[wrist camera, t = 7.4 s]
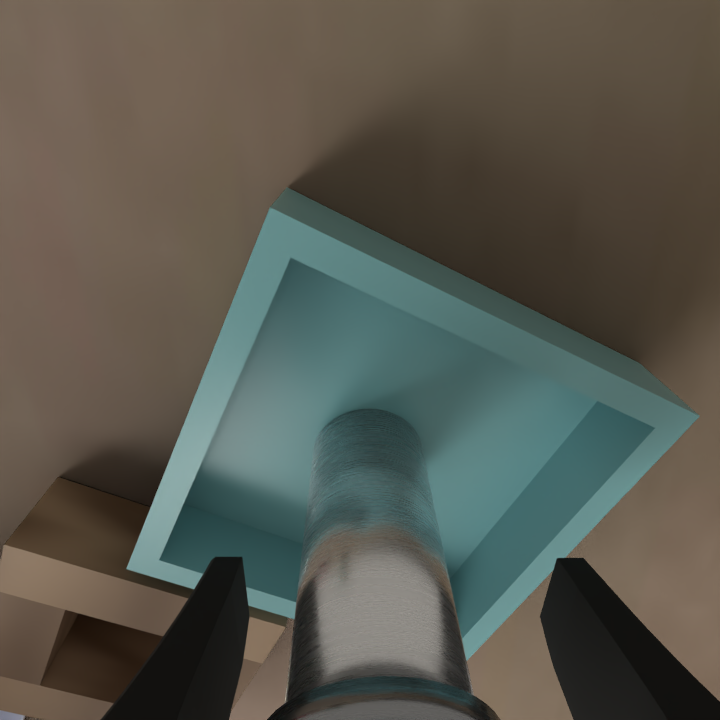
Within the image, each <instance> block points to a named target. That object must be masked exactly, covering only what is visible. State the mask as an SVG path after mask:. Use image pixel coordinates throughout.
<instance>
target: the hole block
mask: <svg viewBox="0 0 720 720" xmlns="http://www.w3.org/2000/svg"><path fill="white" fill-rule="evenodd" d="M150 508H151V507H148V506H145V505H142V504H139V503H136V502H132V501H129V500H126V499H123V498H120V497H117V496H114V495H111V494H108V493H105V492H102V491H99V490H96V489H93V488H90V487H87V486H84V485H81V484H78V483H75V482H72V481H69V480H66V479H63V478H59V477H58V478H57V479H56V480H55V482H54V483H53V484H52V485H51V487H50V488H49V489H48V490H47V492H46V493H45V494H44V495H43V497H42V498H41V499H40V500H39V502H38V503H37V504H36V505H35V507H34V508H33V509H32V510H31V512H30V513H29V514H28V515H27V517H26V518H25V519H24V520H23V522H22V523H21V524H20V525H19V527H18V528H17V529H16V530H15V532H14V533H13V534H12V535H11V537H10V538H9V539H8V540H7V542H6V543H5V544H4V547H3V552H2V556H1V560H0V710H2V711H6V712H11V713H15V714H19V715H24V716H28V717H33V718H37V719H42V720H101V718H102V717H103V716H104V715H105V714H106V712H107V711H108V710H109V709H110V707H111V706H112V705H113V704H114V702H115V701H116V700H117V699H118V697H119V696H120V695H121V693H122V692H123V691H124V689H125V688H126V687H127V685H128V684H129V683H130V681H131V680H132V679H133V677H134V676H135V675H136V673H137V672H138V671H139V669H140V668H141V667H142V665H143V664H144V663H145V661H146V660H147V659H148V657H149V656H150V655H151V653H152V652H153V650H154V649H155V648H156V646H157V645H158V643H159V642H160V640H161V639H162V637H163V636H164V634H165V633H166V632H167V630H168V629H169V627H170V626H171V624H172V623H173V621H174V620H175V618H176V617H177V615H178V614H179V612H180V611H181V609H182V608H183V606H184V604H185V603H186V601H187V600H188V598H189V597H190V595H191V593H192V592H193V590H194V589H191V588H188V587H185V586H181V585H178V584H175V583H171V582H168V581H165V580H161V579H158V578H154V577H151V576H148V575H144V574H141V573H138V572H134V571H131V570H128V569H126V568H127V566H128V563H129V561H130V558H131V556H132V553H133V551H134V548H135V546H136V543H137V541H138V538H139V536H140V533H141V531H142V528H143V525H144V523H145V520H146V518H147V515H148V513H149V510H150ZM249 615H250V617H249V624H248V631H247V638H246V645H245V651H244V658H243V664H242V669H241V673H240V677H239V681H238V685H237V689H236V693H235V697H234V701H233V705H232V709H233V708H234V706H235V705H236V703H237V701H238V700H239V698H240V697H241V695H242V694H243V692H244V691H245V689H246V688H247V686H248V685H249V683H250V682H251V680H252V679H253V677H254V676H255V674H256V672H257V671H258V669H259V668H260V666H261V665H262V663H263V662H264V660H265V659H266V657H267V656H268V654H269V653H270V651H271V650H272V648H273V646H274V645H275V643H276V642H277V640H278V639H279V637H280V636H281V634H282V633H283V631H284V630H285V628H286V624H287V617H285V616H282V615H278V614H275V613H272V612H268V611H265V610H262V609H258V608H255V607H252V606H249ZM232 709H231V711H232Z"/></svg>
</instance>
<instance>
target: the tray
mask: <svg viewBox="0 0 720 720" xmlns="http://www.w3.org/2000/svg"><path fill="white" fill-rule="evenodd" d="M358 409H380V410H384V411H388V412H391V413H394V414H396V415H398V416H400V417H401V418H403V419H404V420H406V421H407V422H408V423H409V424H410V425H411V426H412V427H413V428H414V429H415V431H416V432H417V434H418V436H419V438H420V441H421V445H422V449H423V454H424V459H425V464H426V469H427V473H428V478H429V483H430V488H431V493H432V497H433V502H434V507H435V512H436V517H437V521H438V526H439V531H440V536H441V541H442V545H443V550H444V555H445V560H446V565H447V569H448V574H449V579H450V584H451V589H452V593H453V598H454V603H455V608H456V613H457V617H458V622H459V627H460V632H461V637H462V641H463V646H464V651H465V656H466V661H467V660H468V659H469V658H470V657H471V656H472V655H473V654H474V653H475V652H476V650H477V649H478V648H479V647H480V646H481V645H482V644H483V643H484V642H485V641H486V640H487V639H488V638H489V637H490V636H491V635H492V634H493V633H494V632H495V631H496V629H497V628H498V627H499V626H500V625H501V624H502V623H503V622H504V621H505V620H506V619H507V618H508V617H509V616H510V615H511V614H512V613H513V612H514V611H515V610H516V609H517V607H518V606H519V605H520V604H521V603H522V602H523V601H524V600H525V599H526V598H527V597H528V596H529V595H530V594H531V593H532V592H533V591H534V590H535V589H536V588H537V586H538V585H539V584H540V583H541V582H542V581H543V580H544V579H545V578H546V577H547V576H548V575H549V574H550V573H551V572H552V571H553V570H554V566H555V563H556V559H557V558H565V557H566V556H567V555H568V554H569V553H570V552H571V551H572V550H573V549H574V548H575V547H576V546H577V545H578V543H579V542H580V541H581V540H582V539H583V538H584V537H585V536H586V535H587V534H588V533H589V532H590V531H591V530H592V529H593V528H594V527H595V526H596V525H597V524H598V522H599V521H600V520H601V519H602V518H603V517H604V516H605V515H606V514H607V513H608V512H609V511H610V510H611V509H612V508H613V507H614V506H615V505H616V504H617V503H618V501H619V500H620V499H621V498H622V497H623V496H624V495H625V494H626V493H627V492H628V491H629V490H630V489H631V488H632V487H633V486H634V485H635V484H636V483H637V482H638V480H639V479H640V478H641V477H642V476H643V475H644V474H645V473H646V472H647V471H648V470H649V469H650V468H651V467H652V466H653V465H654V464H655V463H656V462H657V461H658V460H659V458H660V457H661V456H662V455H663V454H664V453H665V452H666V451H667V450H668V449H669V448H670V447H671V446H672V445H673V444H674V443H675V442H676V441H677V440H678V439H679V437H680V436H681V435H682V434H683V433H684V432H685V431H686V430H687V429H688V428H689V427H690V426H691V425H692V424H693V423H694V422H695V421H696V420H697V419H698V418H699V415H698V414H697V413H696V412H695V411H693V410H692V409H691V408H690V407H689V406H688V405H687V404H685V403H684V402H683V401H682V400H681V399H680V398H679V397H678V396H676V395H675V394H674V393H673V392H672V391H671V390H670V389H668V388H667V387H666V386H665V385H664V384H663V383H662V382H660V381H659V380H658V379H657V378H656V377H655V376H654V375H653V374H651V373H650V372H649V371H648V370H647V369H646V368H645V367H643V366H642V365H641V364H640V363H638V362H636V361H634V360H632V359H630V358H628V357H626V356H624V355H622V354H620V353H618V352H616V351H614V350H612V349H610V348H608V347H606V346H604V345H602V344H600V343H598V342H596V341H594V340H592V339H590V338H588V337H586V336H584V335H582V334H580V333H578V332H576V331H574V330H572V329H570V328H568V327H566V326H564V325H562V324H560V323H558V322H556V321H554V320H552V319H550V318H548V317H546V316H544V315H542V314H540V313H538V312H536V311H534V310H532V309H530V308H528V307H526V306H524V305H522V304H520V303H518V302H516V301H514V300H512V299H510V298H508V297H506V296H504V295H502V294H500V293H498V292H496V291H494V290H492V289H490V288H488V287H486V286H484V285H482V284H480V283H478V282H476V281H474V280H472V279H470V278H468V277H466V276H464V275H462V274H460V273H458V272H456V271H454V270H452V269H450V268H448V267H446V266H444V265H442V264H440V263H438V262H436V261H434V260H432V259H430V258H428V257H426V256H424V255H422V254H420V253H418V252H416V251H414V250H412V249H410V248H408V247H406V246H404V245H402V244H400V243H398V242H396V241H394V240H392V239H390V238H388V237H386V236H384V235H382V234H380V233H378V232H376V231H374V230H372V229H370V228H368V227H366V226H364V225H362V224H360V223H358V222H356V221H354V220H352V219H350V218H348V217H346V216H344V215H342V214H340V213H338V212H336V211H334V210H332V209H329V208H327V207H325V206H323V205H321V204H319V203H317V202H315V201H313V200H311V199H309V198H307V197H305V196H303V195H301V194H299V193H297V192H295V191H293V190H291V189H289V188H286V189H285V190H284V191H283V193H282V194H281V195H280V196H279V197H278V199H277V200H276V201H275V202H274V203H273V204H272V206H271V207H270V209H269V211H268V214H267V216H266V219H265V221H264V224H263V226H262V229H261V231H260V234H259V236H258V239H257V241H256V244H255V246H254V249H253V251H252V254H251V256H250V259H249V261H248V264H247V267H246V269H245V272H244V274H243V277H242V279H241V282H240V284H239V287H238V289H237V292H236V294H235V297H234V299H233V302H232V304H231V307H230V309H229V312H228V314H227V317H226V319H225V322H224V324H223V327H222V329H221V332H220V334H219V337H218V339H217V342H216V344H215V347H214V349H213V352H212V355H211V357H210V360H209V362H208V365H207V367H206V370H205V372H204V375H203V377H202V380H201V382H200V385H199V387H198V390H197V392H196V395H195V397H194V400H193V402H192V405H191V407H190V410H189V412H188V415H187V417H186V420H185V422H184V425H183V427H182V430H181V432H180V435H179V437H178V440H177V443H176V445H175V448H174V450H173V453H172V455H171V458H170V460H169V463H168V465H167V468H166V470H165V473H164V475H163V478H162V480H161V483H160V485H159V488H158V490H157V493H156V495H155V498H154V500H153V503H152V505H151V508H150V510H149V513H148V515H147V518H146V520H145V523H144V525H143V528H142V531H141V533H140V536H139V538H138V541H137V543H136V546H135V548H134V551H133V553H132V556H131V558H130V561H129V563H128V566H127V568H126V569H128V570H131V571H134V572H138V573H141V574H144V575H148V576H151V577H154V578H158V579H161V580H165V581H168V582H171V583H175V584H178V585H181V586H185V587H188V588H191V589H195V587H196V585H197V584H198V582H199V580H200V579H201V577H202V575H203V574H204V572H205V570H206V568H207V566H208V565H209V563H210V561H211V560H212V559H213V558H214V557H243V566H244V574H245V582H246V590H247V598H248V606H252V607H255V608H258V609H262V610H265V611H268V612H272V613H275V614H278V615H282V616H285V617H288V618H292V619H294V618H295V609H296V600H297V592H298V583H299V574H300V565H301V556H302V547H303V538H304V529H305V521H306V512H307V503H308V494H309V485H310V476H311V467H312V459H313V450H314V444H315V441H316V439H317V437H318V434H319V433H320V432H321V430H322V429H323V428H324V427H325V426H326V424H328V423H329V422H330V421H331V420H333V419H334V418H336V417H337V416H339V415H342V414H344V413H346V412H349V411H353V410H358Z"/></svg>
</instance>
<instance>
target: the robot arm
mask: <svg viewBox="0 0 720 720" xmlns="http://www.w3.org/2000/svg"><path fill="white" fill-rule="evenodd" d="M249 617H250V615H249V606H248V598H247V590H246V582H245V574H244V566H243V557H214V558H213V559H212V560H211V561H210V563H209V565H208V566H207V568H206V570H205V572H204V574H203V575H202V577H201V579H200V580H199V582H198V584H197V585H196V587H195V589H194V590H193V592H192V593H191V595H190V597H189V598H188V600H187V601H186V603H185V604H184V606H183V608H182V609H181V611H180V612H179V614H178V615H177V617H176V618H175V620H174V621H173V623H172V624H171V626H170V627H169V629H168V630H167V632H166V633H165V634H164V636H163V637H162V639H161V640H160V642H159V643H158V645H157V646H156V648H155V649H154V650H153V652H152V653H151V655H150V656H149V657H148V659H147V660H146V661H145V663H144V664H143V665H142V667H141V668H140V669H139V671H138V672H137V673H136V675H135V676H134V677H133V679H132V680H131V681H130V683H129V684H128V685H127V687H126V688H125V689H124V691H123V692H122V693H121V695H120V696H119V697H118V699H117V700H116V701H115V702H114V704H113V705H112V706H111V707H110V709H109V710H108V711H107V712H106V714H105V715H104V716H103V717H102V718H101V720H229V717H230V713H231V709H232V705H233V701H234V697H235V693H236V689H237V685H238V681H239V677H240V673H241V669H242V664H243V658H244V651H245V645H246V638H247V631H248V624H249ZM540 618H541V622H542V626H543V630H544V634H545V638H546V642H547V645H548V649H549V653H550V656H551V660H552V663H553V666H554V669H555V672H556V675H557V677H558V680H559V683H560V685H561V688H562V690H563V693H564V696H565V698H566V701H567V704H568V706H569V709H570V711H571V714H572V717H573V719H574V720H720V701H718V700H717V699H716V698H715V697H714V696H713V695H712V694H711V693H710V692H709V691H708V690H707V689H706V688H705V687H704V686H703V685H702V684H701V683H700V682H699V681H698V680H697V679H696V678H695V677H694V676H693V675H692V674H691V673H690V672H689V671H688V670H687V669H686V668H685V667H684V666H683V665H682V664H681V663H680V662H679V661H678V660H677V659H676V658H675V657H674V656H673V655H672V654H671V653H670V652H669V651H668V650H667V649H666V648H665V647H664V646H663V644H662V643H661V642H660V641H659V640H658V639H657V638H656V637H655V636H654V635H653V634H652V633H651V632H650V631H649V630H648V629H647V628H646V627H645V626H644V624H643V623H642V622H641V621H640V620H639V619H638V618H637V617H636V616H635V615H634V614H633V612H632V611H631V610H630V609H629V608H628V607H627V606H626V605H625V604H624V603H623V601H622V600H621V599H620V598H619V597H618V596H617V595H616V594H615V593H614V591H613V590H612V589H611V588H610V587H609V586H608V585H607V584H606V583H605V581H604V580H603V579H602V578H601V577H600V576H599V575H598V574H597V573H596V571H595V570H594V569H593V568H592V567H591V566H590V565H589V564H588V563H587V562H586V561H585V559H584V558H557V559H556V563H555V566H554V570H553V573H552V577H551V580H550V584H549V587H548V591H547V594H546V598H545V601H544V605H543V608H542V612H541V615H540ZM24 719H25V716H24V715H19V714H15V713H11V712H6V711H2V710H0V720H24Z"/></svg>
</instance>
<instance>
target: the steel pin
mask: <svg viewBox="0 0 720 720" xmlns="http://www.w3.org/2000/svg"><path fill="white" fill-rule="evenodd" d="M267 720H500V719H499V717H498V716H497V715H496V713H495V712H494V711H493V710H492V709H491V708H490V707H489V706H488V705H487V704H486V703H484V702H483V701H481V700H480V699H478V698H477V697H475V696H474V694H473V689H472V685H471V680H470V675H469V670H468V665H467V661H466V656H465V651H464V646H463V641H462V637H461V632H460V627H459V622H458V617H457V613H456V608H455V603H454V598H453V593H452V589H451V584H450V579H449V574H448V569H447V565H446V560H445V555H444V550H443V545H442V541H441V536H440V531H439V526H438V521H437V517H436V512H435V507H434V502H433V497H432V493H431V488H430V483H429V478H428V473H427V469H426V464H425V459H424V454H423V449H422V445H421V441H420V438H419V436H418V434H417V432H416V431H415V429H414V428H413V427H412V426H411V425H410V424H409V423H408V422H407V421H406V420H404V419H403V418H401V417H400V416H398V415H396V414H394V413H391V412H388V411H384V410H380V409H358V410H353V411H349V412H346V413H344V414H342V415H339V416H337V417H336V418H334V419H333V420H331V421H330V422H329V423H328V424H326V426H325V427H324V428H323V429H322V430H321V432H320V433H319V434H318V437H317V439H316V441H315V444H314V450H313V459H312V467H311V476H310V485H309V494H308V503H307V512H306V521H305V529H304V538H303V547H302V556H301V565H300V574H299V583H298V592H297V600H296V609H295V618H294V627H293V636H292V645H291V654H290V663H289V671H288V680H287V689H286V698H285V704H284V705H282V706H281V707H280V708H278V709H277V710H276V711H275V712H274V713H273V714H272V715H271V716H270V717H269V718H268V719H267Z"/></svg>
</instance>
